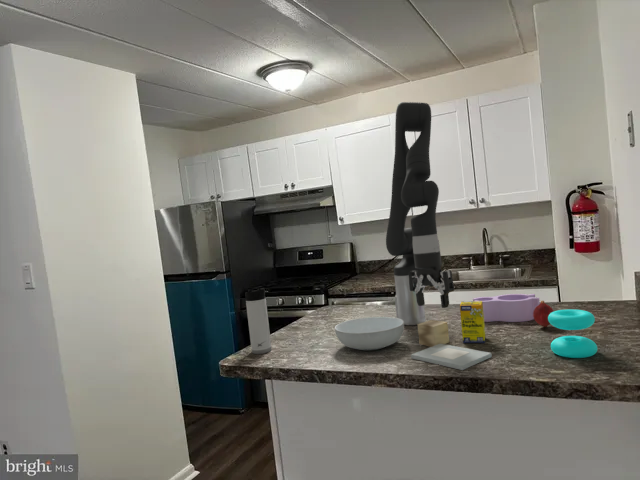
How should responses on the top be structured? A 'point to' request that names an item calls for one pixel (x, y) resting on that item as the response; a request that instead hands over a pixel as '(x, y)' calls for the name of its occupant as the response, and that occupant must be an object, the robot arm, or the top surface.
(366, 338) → the serving bowl
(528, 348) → the top surface
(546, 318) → the onion
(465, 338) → the supplement box
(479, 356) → the board
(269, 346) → the travel mug
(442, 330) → the block
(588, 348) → the donuts
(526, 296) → the purple cup holder
